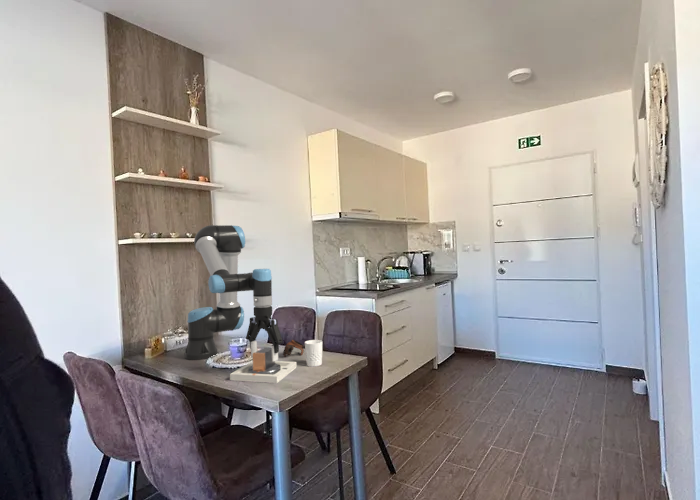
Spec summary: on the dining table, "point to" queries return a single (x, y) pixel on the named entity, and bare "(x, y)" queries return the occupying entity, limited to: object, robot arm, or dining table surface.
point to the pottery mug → (292, 347)
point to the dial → (264, 363)
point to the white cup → (313, 352)
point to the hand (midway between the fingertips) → (264, 358)
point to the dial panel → (275, 378)
